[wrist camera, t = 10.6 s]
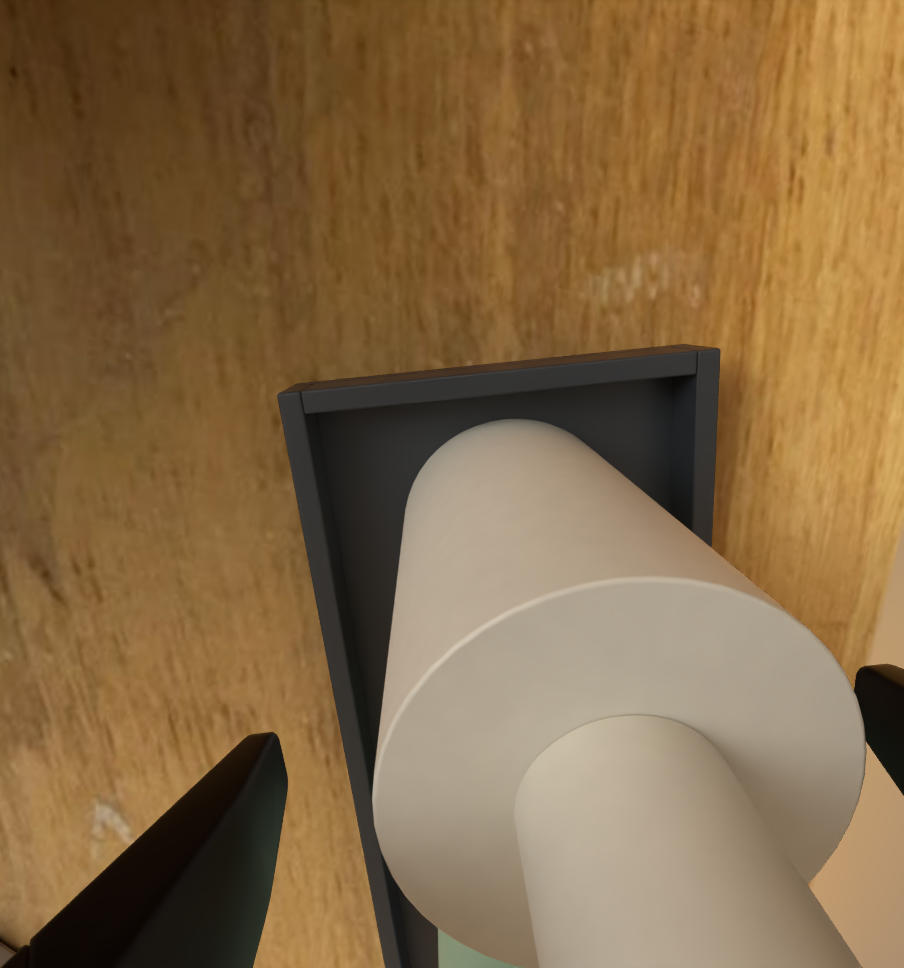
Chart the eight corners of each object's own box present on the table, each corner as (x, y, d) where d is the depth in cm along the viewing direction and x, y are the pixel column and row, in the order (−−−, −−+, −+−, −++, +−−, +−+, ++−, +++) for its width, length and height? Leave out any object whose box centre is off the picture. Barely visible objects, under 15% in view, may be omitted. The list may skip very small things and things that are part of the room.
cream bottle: (616, 407, 16) (1302, 750, 3) (617, 607, 18) (1062, 1297, 5) (391, 429, 16) (252, 864, 3) (417, 628, 18) (389, 1378, 5)
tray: (685, 343, 16) (722, 347, 14) (666, 1052, 25) (686, 1116, 23) (295, 383, 16) (275, 393, 14) (419, 1080, 25) (418, 1147, 23)
